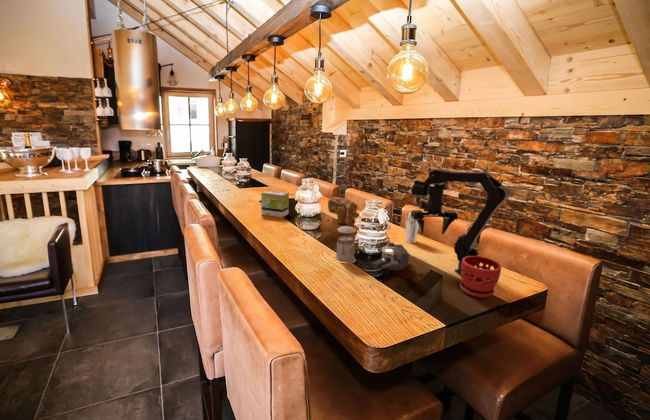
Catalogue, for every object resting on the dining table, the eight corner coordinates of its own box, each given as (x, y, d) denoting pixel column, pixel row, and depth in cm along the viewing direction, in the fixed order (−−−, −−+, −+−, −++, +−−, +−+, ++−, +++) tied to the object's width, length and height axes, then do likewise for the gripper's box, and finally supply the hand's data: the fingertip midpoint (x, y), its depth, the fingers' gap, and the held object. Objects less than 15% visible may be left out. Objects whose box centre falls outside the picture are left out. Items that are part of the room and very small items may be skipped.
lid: (378, 245, 158) (379, 234, 157) (401, 246, 159) (402, 234, 157) (390, 266, 136) (391, 252, 134) (417, 266, 136) (418, 253, 135)
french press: (358, 257, 161) (361, 203, 155) (353, 266, 150) (356, 209, 144) (336, 254, 163) (339, 201, 158) (330, 263, 153) (332, 206, 147)
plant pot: (451, 291, 131) (455, 260, 128) (467, 281, 140) (471, 252, 137) (487, 304, 122) (493, 272, 119) (502, 293, 131) (507, 262, 128)
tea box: (260, 215, 226) (260, 192, 223) (267, 211, 236) (267, 189, 232) (282, 217, 222) (283, 194, 219) (288, 214, 232) (289, 191, 228)
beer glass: (417, 244, 182) (420, 215, 179) (404, 242, 183) (406, 214, 180) (417, 240, 189) (420, 212, 185) (403, 238, 190) (406, 211, 187)
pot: (392, 258, 161) (393, 245, 160) (412, 264, 155) (413, 251, 154) (363, 272, 145) (364, 258, 143) (384, 279, 138) (385, 265, 137)
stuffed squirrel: (358, 226, 210) (359, 204, 207) (334, 224, 212) (335, 203, 209) (359, 222, 219) (360, 201, 216) (336, 220, 221) (337, 199, 218)
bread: (327, 210, 245) (327, 196, 243) (338, 209, 252) (339, 195, 249) (345, 216, 231) (346, 201, 229) (357, 214, 238) (358, 200, 235)
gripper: (449, 195, 159) (446, 229, 163) (408, 195, 158) (406, 228, 162) (460, 200, 149) (456, 236, 152) (416, 199, 148) (413, 236, 151)
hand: (432, 234), depth 155 cm, fingers open, 9 cm apart
